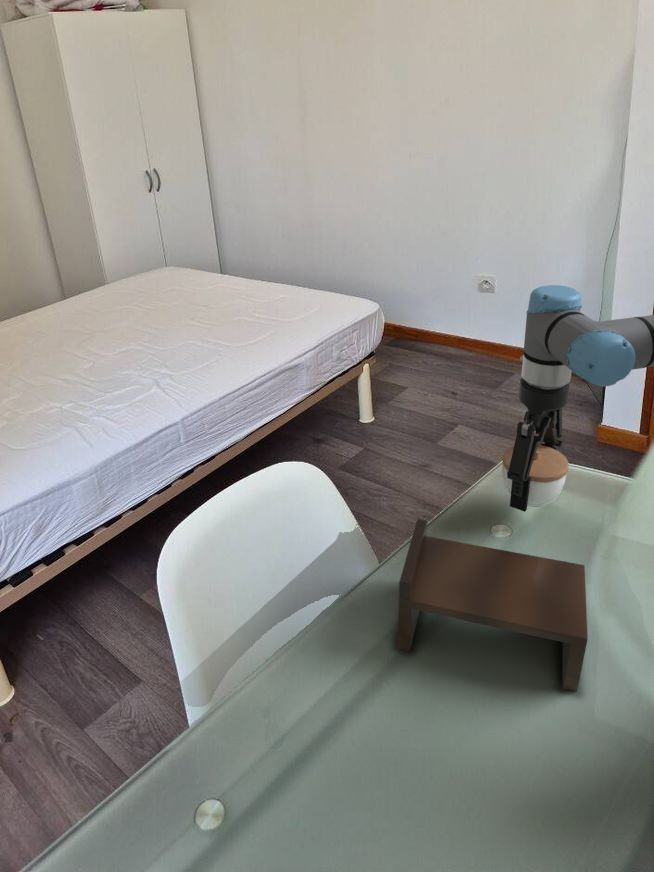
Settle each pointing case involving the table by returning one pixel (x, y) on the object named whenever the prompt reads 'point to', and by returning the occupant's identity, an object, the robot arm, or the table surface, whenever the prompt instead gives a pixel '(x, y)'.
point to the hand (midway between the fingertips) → (531, 491)
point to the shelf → (495, 594)
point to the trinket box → (541, 475)
